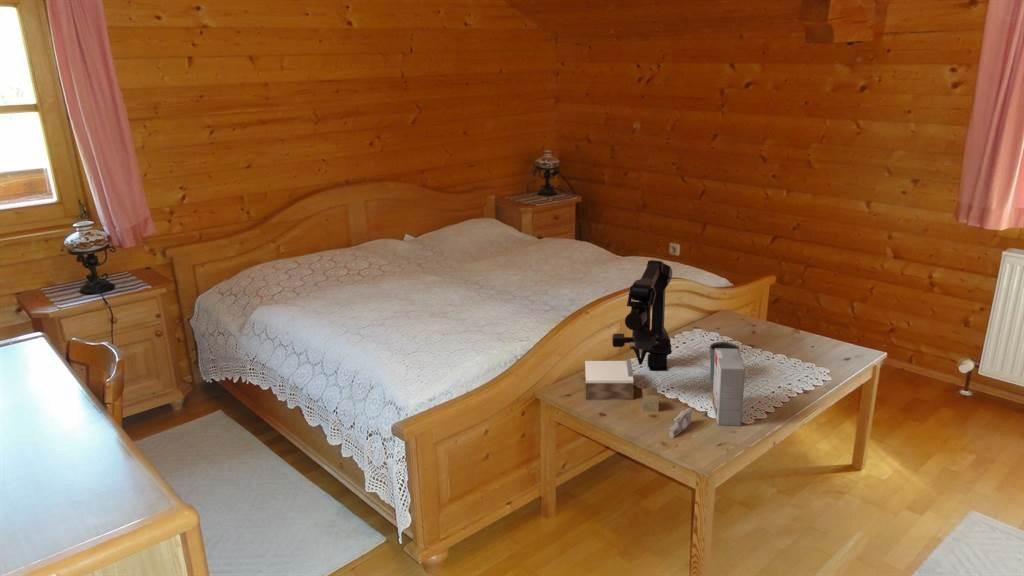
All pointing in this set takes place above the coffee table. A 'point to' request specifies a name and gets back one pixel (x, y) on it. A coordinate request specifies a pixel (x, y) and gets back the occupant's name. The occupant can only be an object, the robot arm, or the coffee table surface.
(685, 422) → the garden wall model
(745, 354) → the coffee table surface
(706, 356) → the coffee table surface
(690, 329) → the coffee table surface
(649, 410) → the block
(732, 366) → the hard drive box
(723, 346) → the drinking glass
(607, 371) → the box lid
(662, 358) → the robot arm
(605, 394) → the storage box
